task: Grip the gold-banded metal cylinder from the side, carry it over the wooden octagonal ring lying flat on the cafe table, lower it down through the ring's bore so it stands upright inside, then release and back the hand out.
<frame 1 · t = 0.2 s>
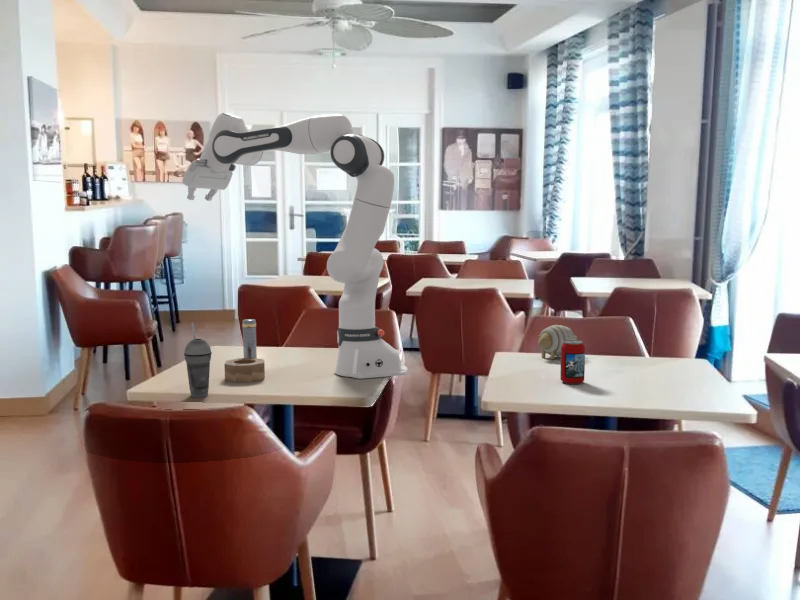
hand: (198, 199, 249), 54 cm above the table, tool tilted 25°, fingers open, 8 cm apart
beverage cup: (199, 396, 207), on the table
beverage can: (572, 383, 220), on the table
gold-banded metal cylinder: (250, 370, 239), on the table
toy sheep: (557, 358, 257), on the table
wooden octagonal ring: (245, 378, 228), on the table
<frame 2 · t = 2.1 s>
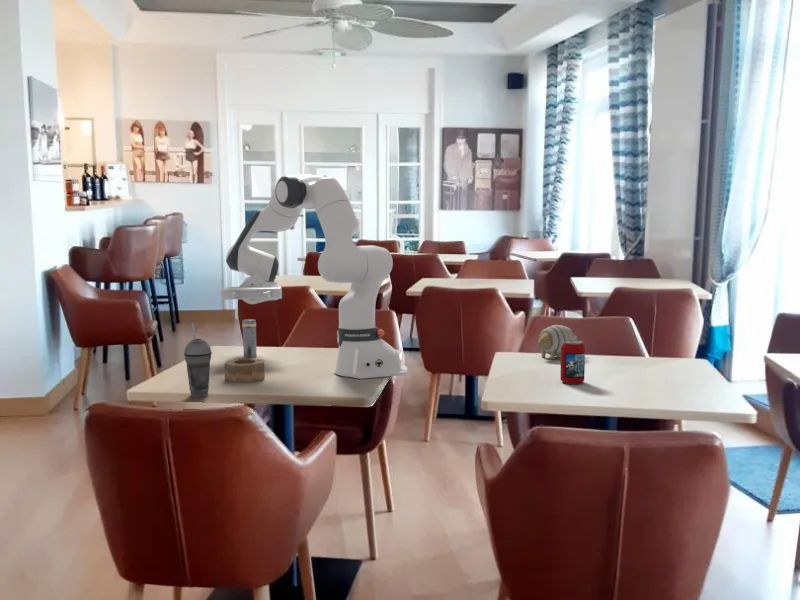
hand: (250, 295, 251), 22 cm above the table, tool horizontal, fingers open, 8 cm apart
nothing on the table moved.
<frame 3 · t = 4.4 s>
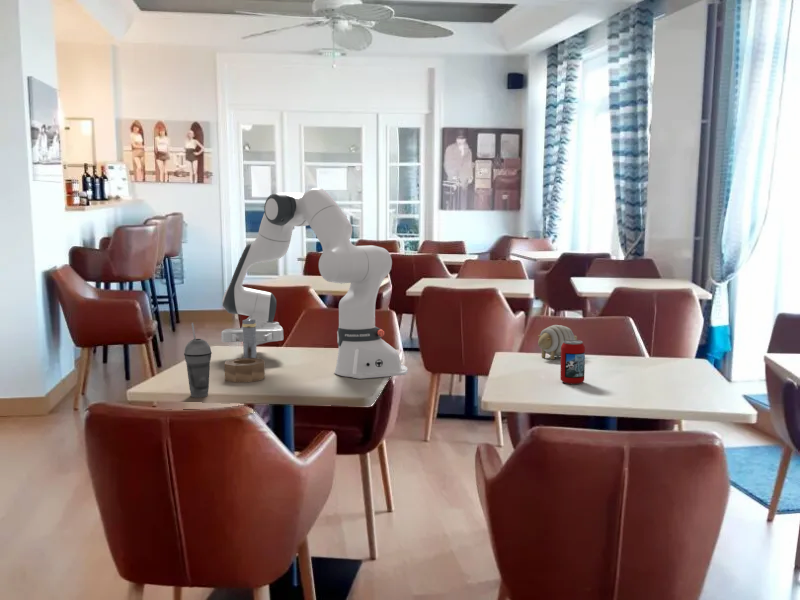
hand: (251, 338, 246), 9 cm above the table, tool horizontal, fingers open, 8 cm apart
nothing on the table moved.
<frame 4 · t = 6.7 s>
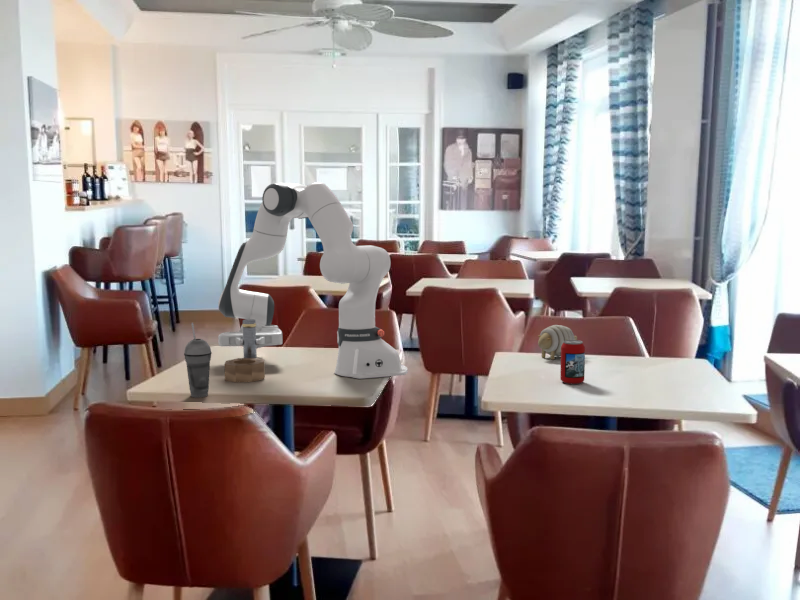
hand: (249, 342, 237), 9 cm above the table, tool horizontal, fingers closed on gold-banded metal cylinder, 4 cm apart
gold-banded metal cylinder: (250, 370, 239), on the table, touching gripper
everything else where it was.
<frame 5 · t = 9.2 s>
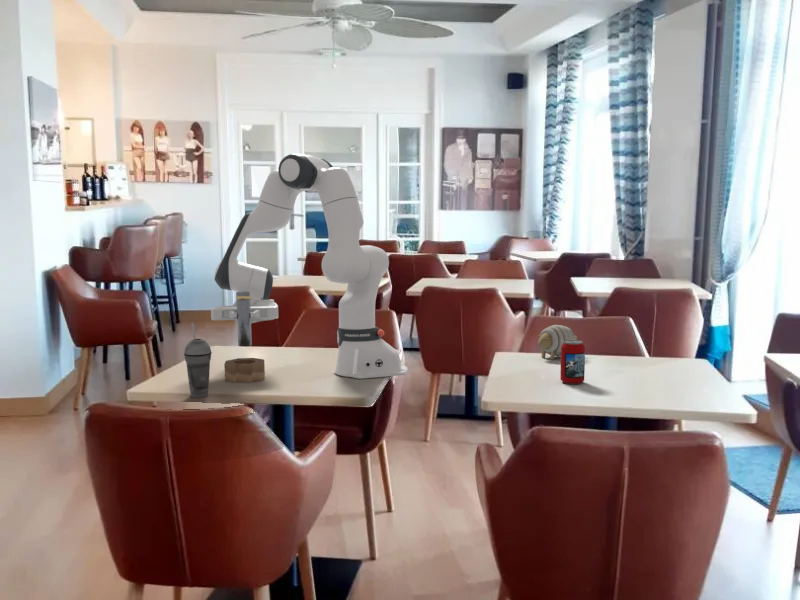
hand: (243, 315, 226), 19 cm above the table, tool horizontal, fingers closed on gold-banded metal cylinder, 4 cm apart
gold-banded metal cylinder: (244, 345, 228), point 10 cm above the table, touching gripper
everything else where it was.
when the fingers open (10 cm above the table, at t = 11.8 s): gold-banded metal cylinder drops 1 cm, resting in wooden octagonal ring.
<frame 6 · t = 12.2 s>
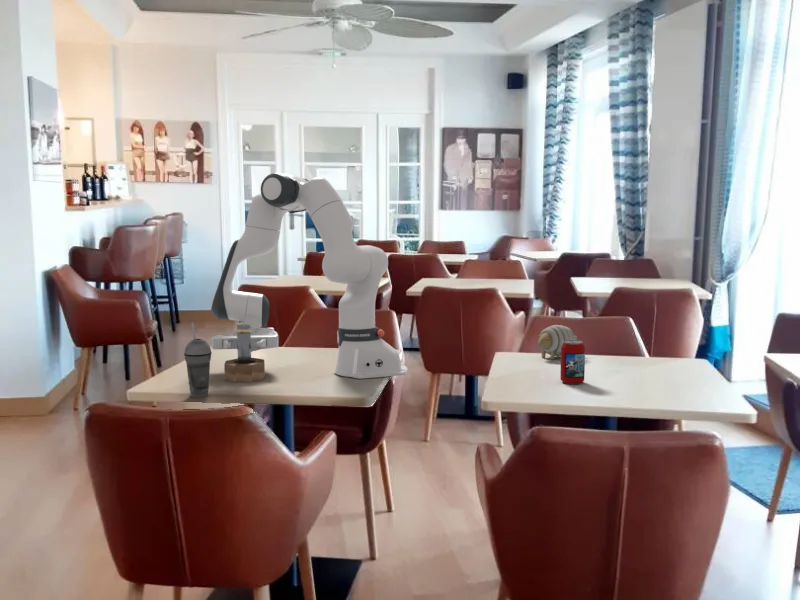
hand: (243, 345, 226), 10 cm above the table, tool horizontal, fingers open, 8 cm apart
gold-banded metal cylinder: (245, 378, 228), resting in wooden octagonal ring
everything else where it was.
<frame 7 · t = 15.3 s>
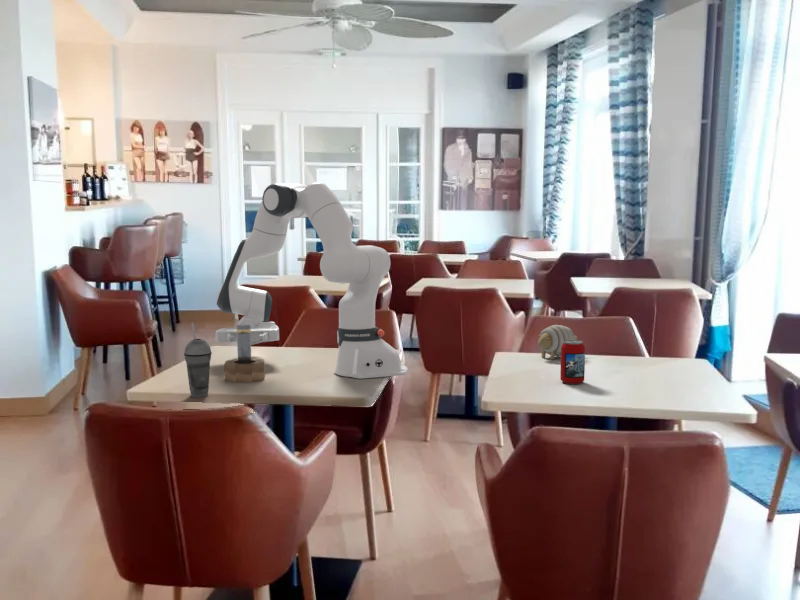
hand: (246, 338, 239), 10 cm above the table, tool horizontal, fingers open, 8 cm apart
nothing on the table moved.
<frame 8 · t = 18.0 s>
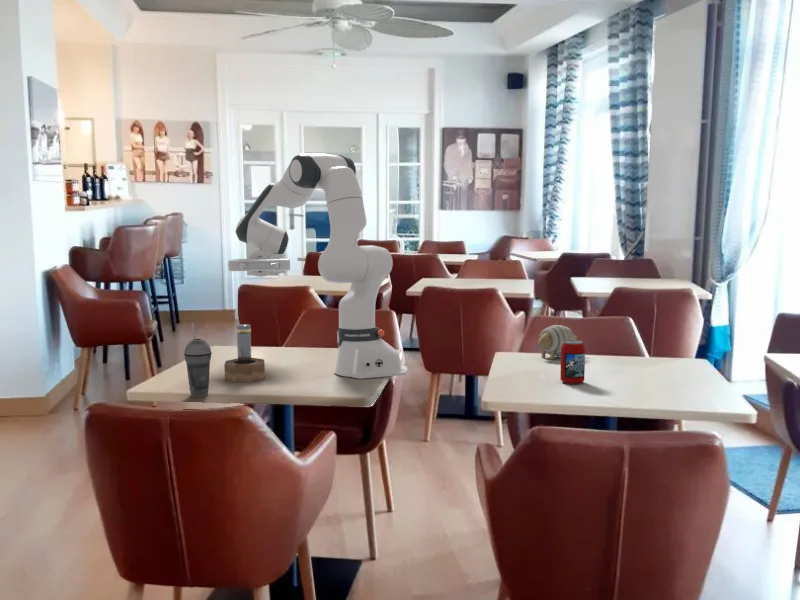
hand: (258, 266, 246), 32 cm above the table, tool horizontal, fingers open, 8 cm apart
nothing on the table moved.
at the end: gold-banded metal cylinder 0.0 cm from the wooden octagonal ring (horizontally); gold-banded metal cylinder resting in wooden octagonal ring; gold-banded metal cylinder tilted 0° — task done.
